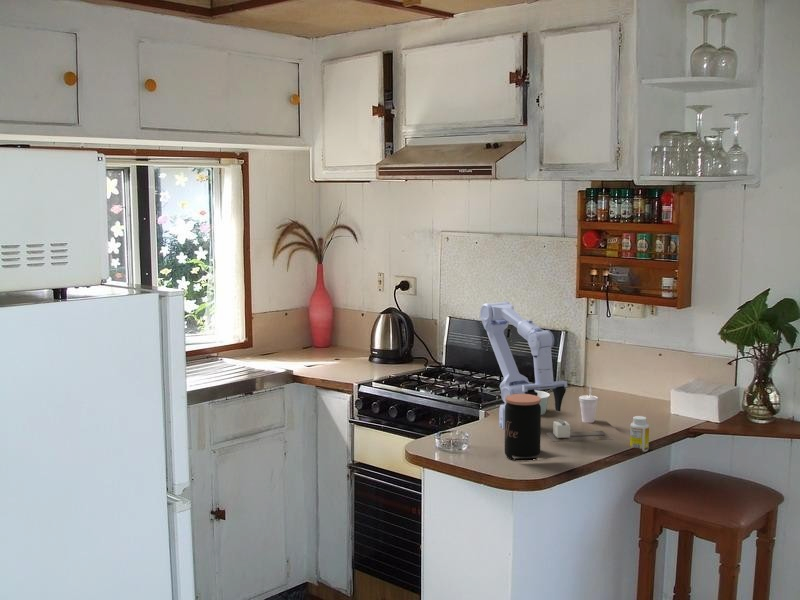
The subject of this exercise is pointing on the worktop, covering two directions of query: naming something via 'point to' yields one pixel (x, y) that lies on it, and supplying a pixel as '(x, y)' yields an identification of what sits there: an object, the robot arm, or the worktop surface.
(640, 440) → the supplement bottle
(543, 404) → the food container
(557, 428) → the fader knob
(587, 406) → the smoothie
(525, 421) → the coffee jar
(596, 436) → the fader board
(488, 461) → the worktop surface
